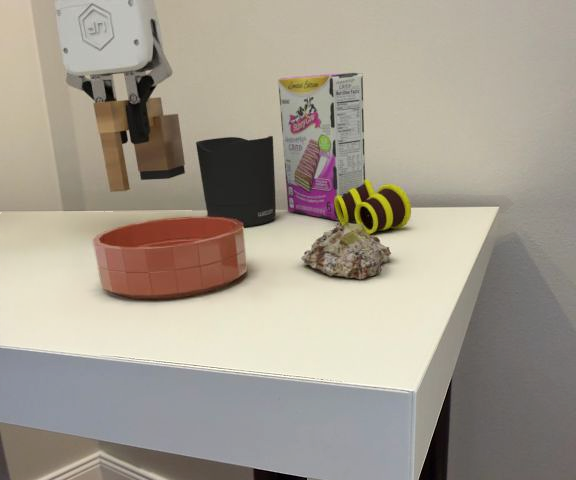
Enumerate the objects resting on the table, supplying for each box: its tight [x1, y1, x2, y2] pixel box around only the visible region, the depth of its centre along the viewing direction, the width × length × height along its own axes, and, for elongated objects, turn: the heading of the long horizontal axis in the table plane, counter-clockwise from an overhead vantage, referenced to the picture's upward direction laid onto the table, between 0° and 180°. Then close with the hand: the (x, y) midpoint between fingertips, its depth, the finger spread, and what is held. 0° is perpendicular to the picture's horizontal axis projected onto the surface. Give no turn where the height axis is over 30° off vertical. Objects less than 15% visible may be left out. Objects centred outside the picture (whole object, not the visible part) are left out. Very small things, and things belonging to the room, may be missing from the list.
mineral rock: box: [301, 222, 392, 281], centre depth 60 cm, size 11×4×8 cm
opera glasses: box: [334, 178, 412, 235], centre depth 74 cm, size 10×5×5 cm, turn 22°
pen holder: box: [195, 135, 277, 228], centre depth 82 cm, size 9×9×10 cm
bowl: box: [91, 215, 248, 300], centre depth 59 cm, size 13×13×4 cm
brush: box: [93, 97, 186, 193], centre depth 76 cm, size 14×4×9 cm, turn 164°
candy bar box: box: [277, 72, 366, 221], centre depth 82 cm, size 11×5×16 cm, turn 34°
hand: (129, 142), depth 74 cm, fingers closed on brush, 2 cm apart
